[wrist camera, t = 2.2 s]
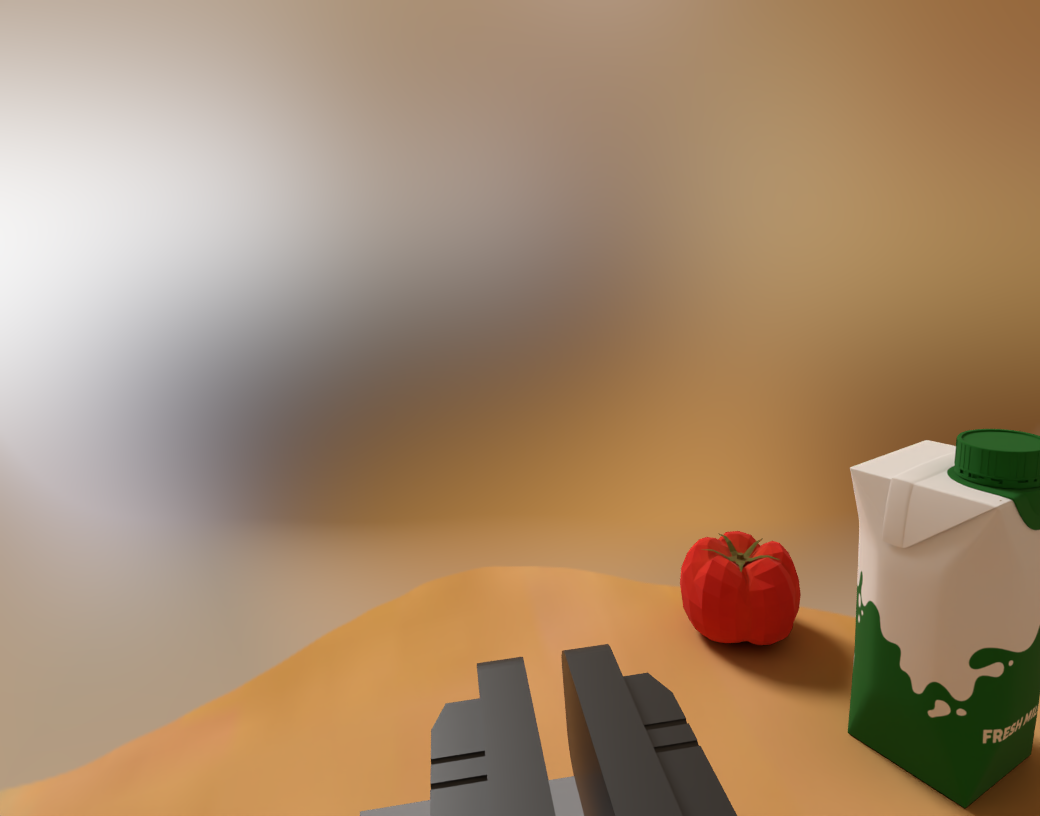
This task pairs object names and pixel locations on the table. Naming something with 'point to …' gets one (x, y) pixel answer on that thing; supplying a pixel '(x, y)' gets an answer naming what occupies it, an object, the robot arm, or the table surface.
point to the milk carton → (949, 608)
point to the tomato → (740, 589)
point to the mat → (561, 790)
